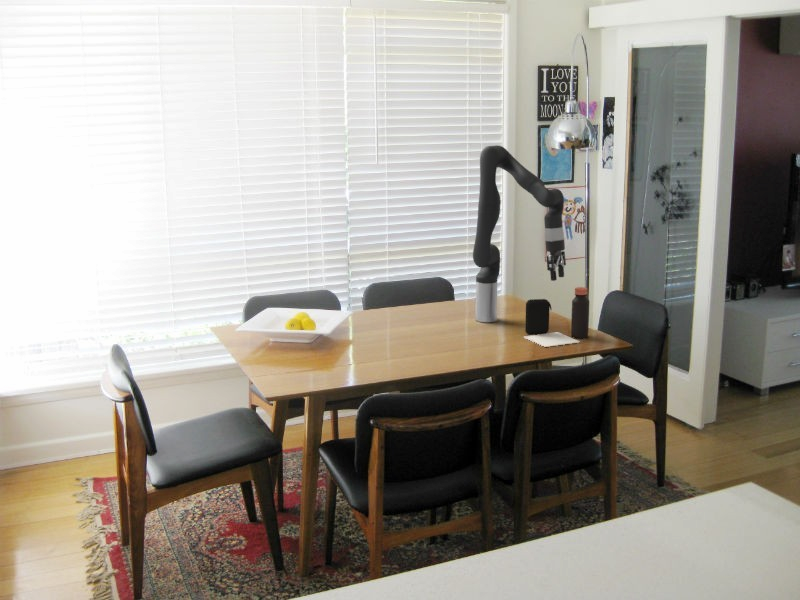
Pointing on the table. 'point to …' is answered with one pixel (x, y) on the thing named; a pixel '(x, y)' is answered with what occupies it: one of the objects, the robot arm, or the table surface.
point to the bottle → (580, 314)
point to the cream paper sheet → (551, 339)
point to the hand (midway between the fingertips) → (557, 278)
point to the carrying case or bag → (537, 316)
